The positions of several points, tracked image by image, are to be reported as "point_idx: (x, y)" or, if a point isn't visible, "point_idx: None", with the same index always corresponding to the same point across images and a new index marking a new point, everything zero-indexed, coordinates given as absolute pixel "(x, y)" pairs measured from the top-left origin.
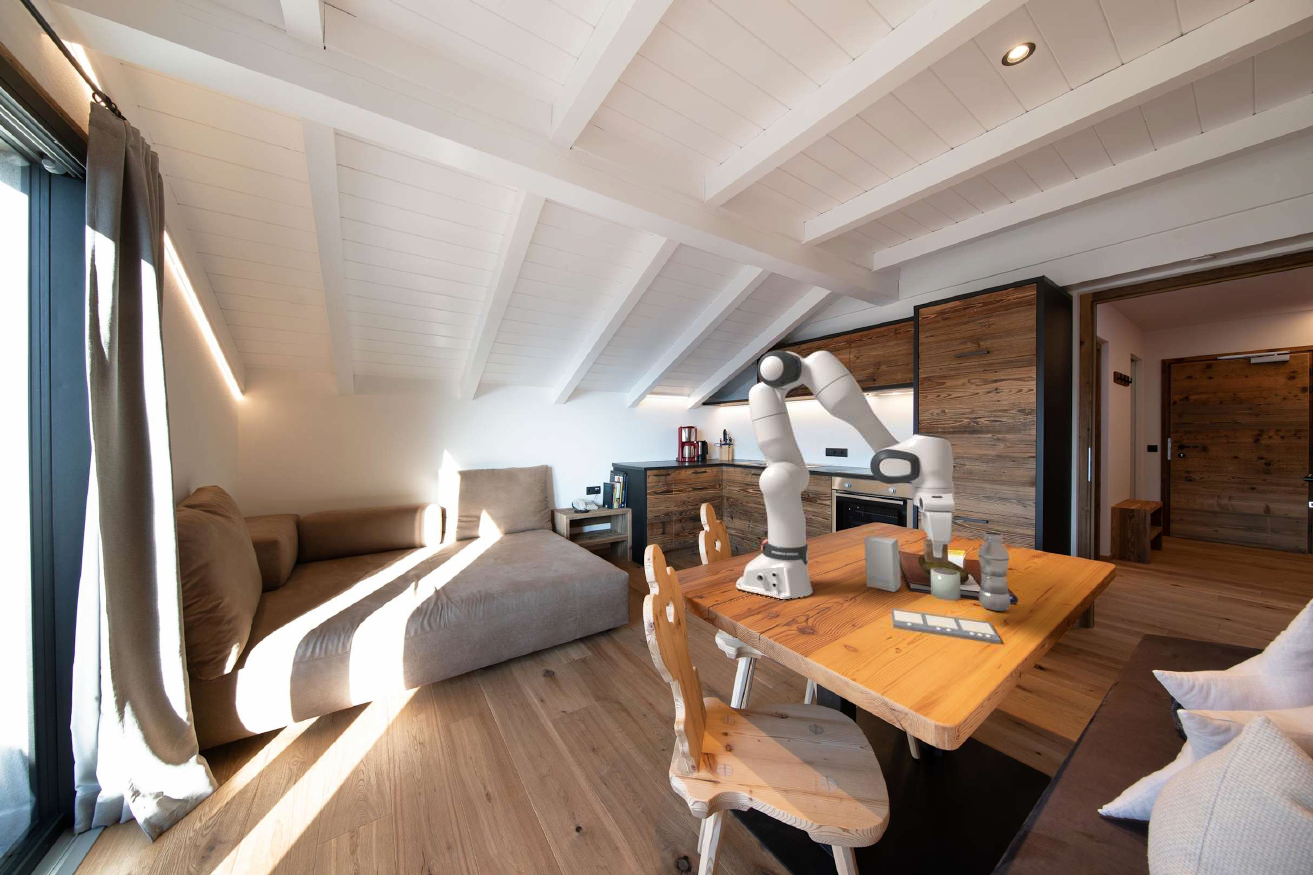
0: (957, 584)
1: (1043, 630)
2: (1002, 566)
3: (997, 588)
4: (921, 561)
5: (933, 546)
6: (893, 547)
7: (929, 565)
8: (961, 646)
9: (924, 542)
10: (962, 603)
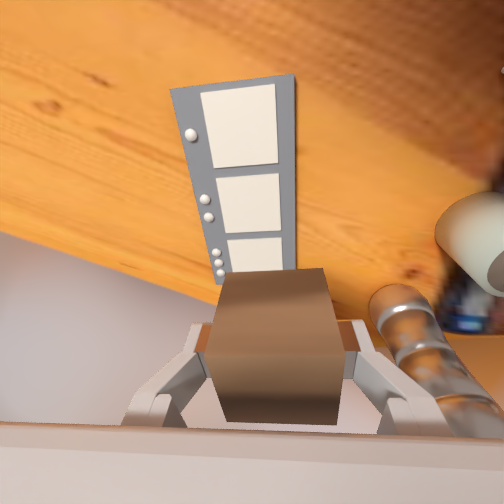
0: (464, 270)
1: None
2: None
3: (386, 340)
4: None
5: (156, 374)
6: None
7: None
8: (166, 227)
9: (288, 344)
10: (415, 252)
